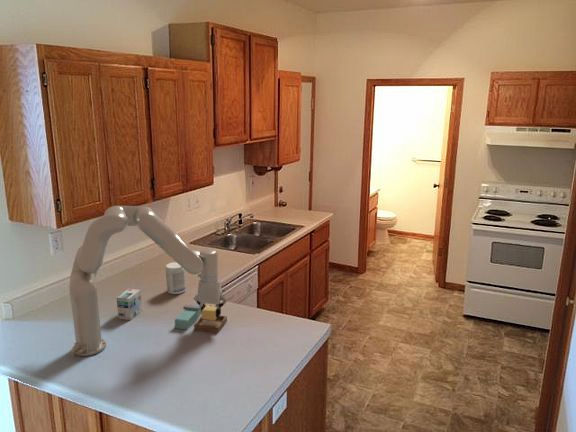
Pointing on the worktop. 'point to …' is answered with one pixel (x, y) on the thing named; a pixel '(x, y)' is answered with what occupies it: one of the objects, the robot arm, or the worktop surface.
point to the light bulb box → (129, 304)
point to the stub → (209, 313)
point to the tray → (210, 324)
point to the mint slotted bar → (188, 316)
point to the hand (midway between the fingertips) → (210, 314)
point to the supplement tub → (175, 278)
